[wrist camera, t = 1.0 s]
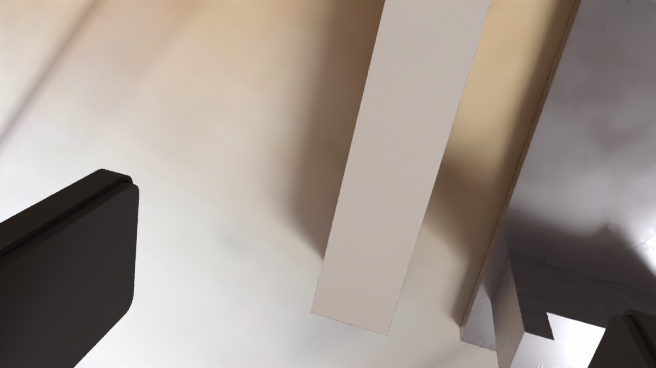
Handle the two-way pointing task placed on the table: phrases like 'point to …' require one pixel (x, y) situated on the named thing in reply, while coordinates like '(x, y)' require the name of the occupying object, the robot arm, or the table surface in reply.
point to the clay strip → (396, 155)
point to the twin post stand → (577, 199)
